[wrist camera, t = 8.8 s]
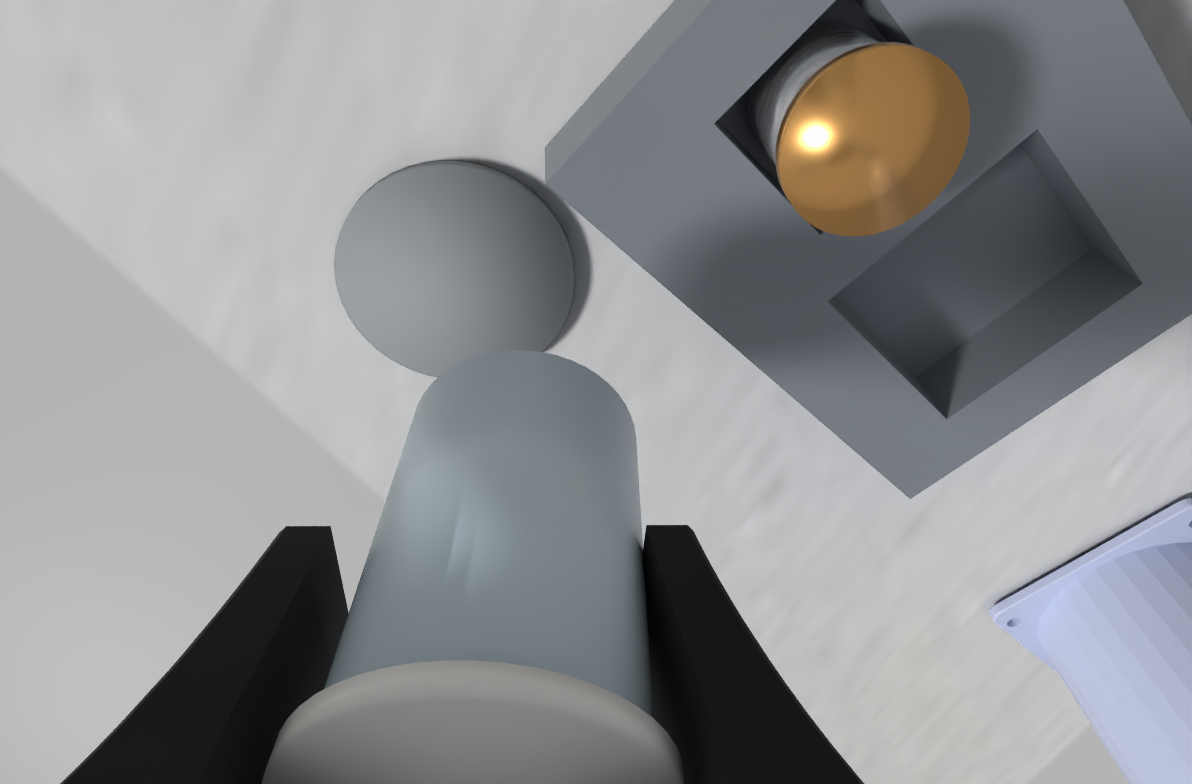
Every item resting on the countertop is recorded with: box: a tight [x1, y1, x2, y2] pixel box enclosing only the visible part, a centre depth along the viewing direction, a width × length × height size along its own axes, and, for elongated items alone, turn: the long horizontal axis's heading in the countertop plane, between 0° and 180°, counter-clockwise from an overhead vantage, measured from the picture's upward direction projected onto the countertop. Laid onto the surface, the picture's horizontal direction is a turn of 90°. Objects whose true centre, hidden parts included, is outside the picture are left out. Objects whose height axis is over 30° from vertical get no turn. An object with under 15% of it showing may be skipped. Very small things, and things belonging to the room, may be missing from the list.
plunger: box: [747, 22, 970, 236], centre depth 15 cm, size 3×3×4 cm
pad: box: [334, 161, 574, 377], centre depth 19 cm, size 6×6×1 cm
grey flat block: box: [545, 0, 1192, 499], centre depth 17 cm, size 14×10×2 cm
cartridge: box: [261, 350, 685, 784], centre depth 11 cm, size 5×5×7 cm
